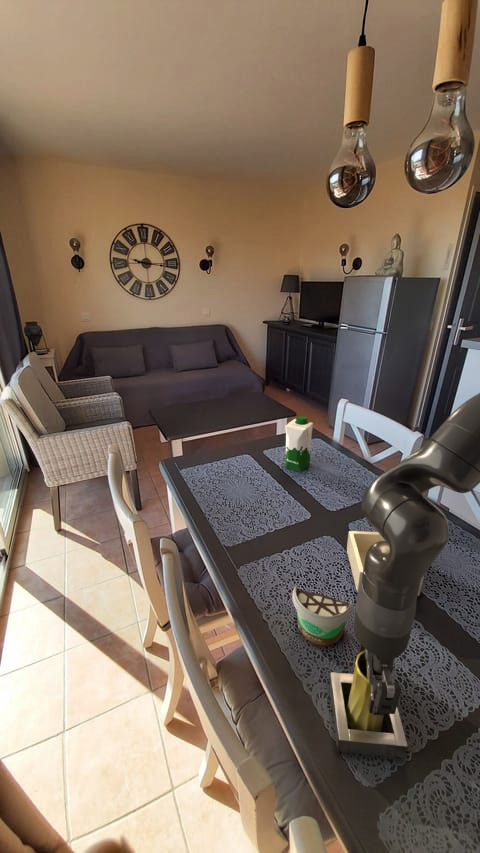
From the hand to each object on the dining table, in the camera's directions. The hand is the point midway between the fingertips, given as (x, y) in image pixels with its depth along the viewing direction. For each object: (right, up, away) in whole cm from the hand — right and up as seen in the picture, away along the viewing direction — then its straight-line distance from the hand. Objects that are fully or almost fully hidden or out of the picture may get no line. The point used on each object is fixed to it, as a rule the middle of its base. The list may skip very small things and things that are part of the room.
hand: (369, 684), depth 57 cm
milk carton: (+1, +25, +81) cm, 85 cm away
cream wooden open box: (+14, +4, +33) cm, 36 cm away
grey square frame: (0, -9, +4) cm, 10 cm away
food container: (-5, -3, +18) cm, 19 cm away
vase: (0, -9, +4) cm, 10 cm away
